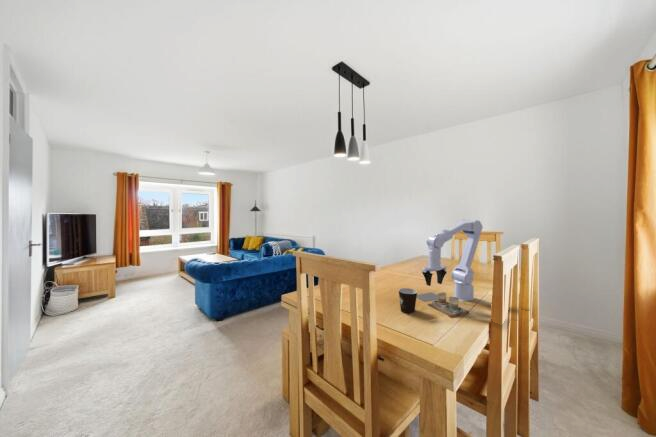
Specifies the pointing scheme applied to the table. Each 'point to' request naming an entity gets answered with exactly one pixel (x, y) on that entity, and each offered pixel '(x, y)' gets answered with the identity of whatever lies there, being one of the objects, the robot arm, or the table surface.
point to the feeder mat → (427, 297)
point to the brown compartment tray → (447, 309)
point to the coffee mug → (407, 300)
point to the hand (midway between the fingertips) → (434, 284)
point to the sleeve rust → (441, 298)
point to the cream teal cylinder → (453, 303)
